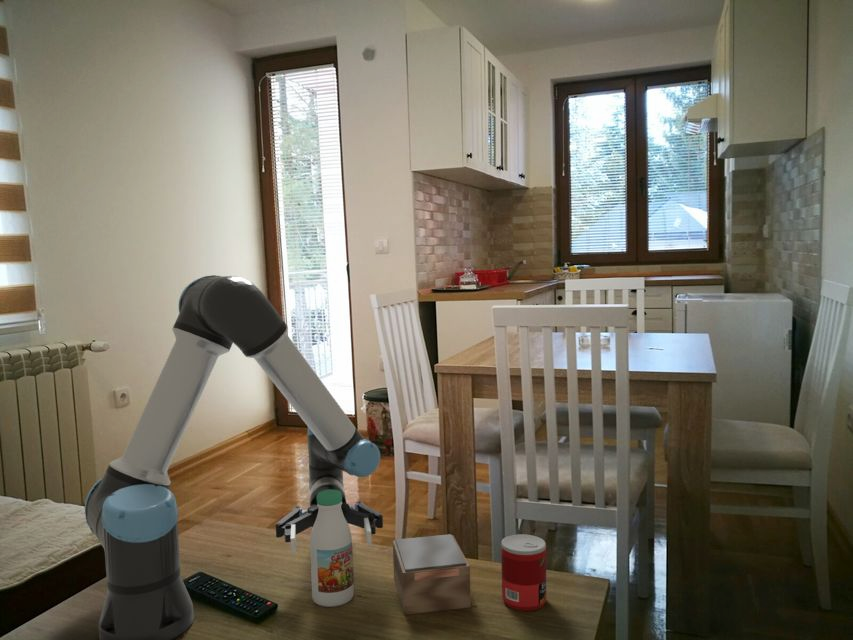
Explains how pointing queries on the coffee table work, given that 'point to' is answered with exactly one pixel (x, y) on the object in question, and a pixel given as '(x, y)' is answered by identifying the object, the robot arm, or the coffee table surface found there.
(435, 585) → the riser
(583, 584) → the coffee table surface
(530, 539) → the canned food
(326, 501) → the milk bottle
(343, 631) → the coffee table surface
